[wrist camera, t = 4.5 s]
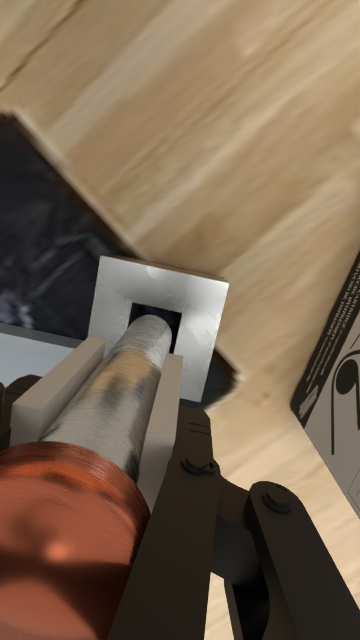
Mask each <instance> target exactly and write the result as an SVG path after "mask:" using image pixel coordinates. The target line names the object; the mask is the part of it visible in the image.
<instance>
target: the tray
mask: <svg viewBox="0 0 360 640" xmlns="http://www.w3.org/2000/svg"><path fill="white" fill-rule="evenodd" d="M82 342H84V340H79V339H74V338H70V337H65V336H60V335H56V334H51V333H46V332H42V331H37V330H32V329H28V328H23V327H19V326H14V325H9V324H5V323H0V382H1V383H3V385H4V387H5V388H6V387H7V386H9V384H11V383H12V382H13V381H15V380H16V379H17V378H20V377H23V376H26V375H29V374H32V375H37V376H41V377H43V376H45V375H46V374H47V373H48V372H49V371H50V370H52V369H53V368H54V367H55V366H56V365H57V364H58V363H60V362H61V361H62V360H63V359H64V358H65V357H66V356H68V355H69V354H70V353H71V352H72V351H73V350H74V349H76V348H77V347H78V346H79V345H80V344H81V343H82Z"/></svg>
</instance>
